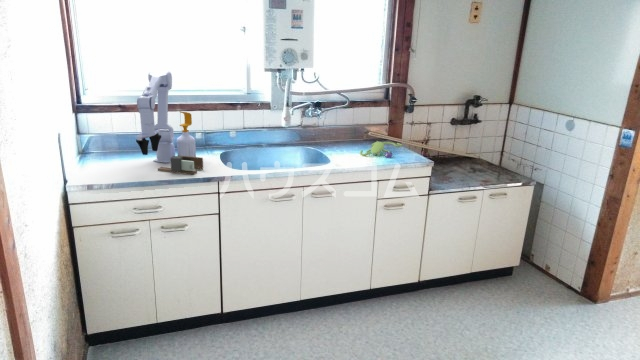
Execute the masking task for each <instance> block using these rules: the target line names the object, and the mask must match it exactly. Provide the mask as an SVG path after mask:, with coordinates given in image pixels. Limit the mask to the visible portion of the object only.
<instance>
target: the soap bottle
mask: <svg viewBox="0 0 640 360" xmlns="http://www.w3.org/2000/svg"><path fill="white" fill-rule="evenodd" d="M179 113H180V114H181V113H182V114H183V116H184V123H182V124H179V127H182V128H183V129H182V130H181V132H182V133H181V135H180V136H179V137H177V138H176V149H177V150H176V151H177V156H178V155H181V156H190V157H197V152H196V151H197V150H196V139H195V138H194V136H192V135H191V134H190V131H189V130H188V128H189V126H192V124H193V120H192V113H190V112H187V111H179Z"/></svg>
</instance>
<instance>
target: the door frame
mask: <svg viewBox="0 0 640 360" xmlns="http://www.w3.org/2000/svg"><path fill="white" fill-rule="evenodd" d="M177 156H181V155H178V154H177ZM182 158H183V160H187V161H194V171H186V170H181V171H171V167H165V166H160V167H159V168H157V171H159V172H167V173H176V174H184V175H192V176H193V175H195V174H198V172H197V170H204V159H203V157H200V156H199V157H198V156H196V157H190V156H182ZM195 169H196V170H195Z"/></svg>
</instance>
